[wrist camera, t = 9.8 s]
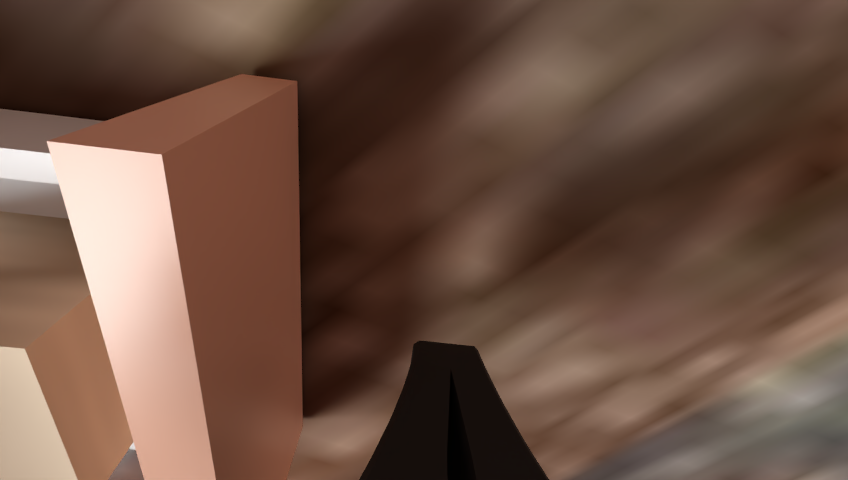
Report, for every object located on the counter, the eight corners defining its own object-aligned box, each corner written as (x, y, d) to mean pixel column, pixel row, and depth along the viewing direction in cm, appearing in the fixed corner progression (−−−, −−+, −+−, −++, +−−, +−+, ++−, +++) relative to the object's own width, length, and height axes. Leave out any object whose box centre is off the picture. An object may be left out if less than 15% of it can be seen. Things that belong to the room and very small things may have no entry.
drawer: (297, 80, 9) (161, 155, 5) (302, 426, 15) (241, 628, 10) (-159, 23, 9) (-813, 40, 4) (11, 399, 14) (-201, 596, 9)
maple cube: (167, 229, 10) (25, 348, 7) (190, 359, 12) (88, 507, 8) (-13, 210, 10) (-258, 321, 6) (39, 345, 12) (-130, 489, 8)
